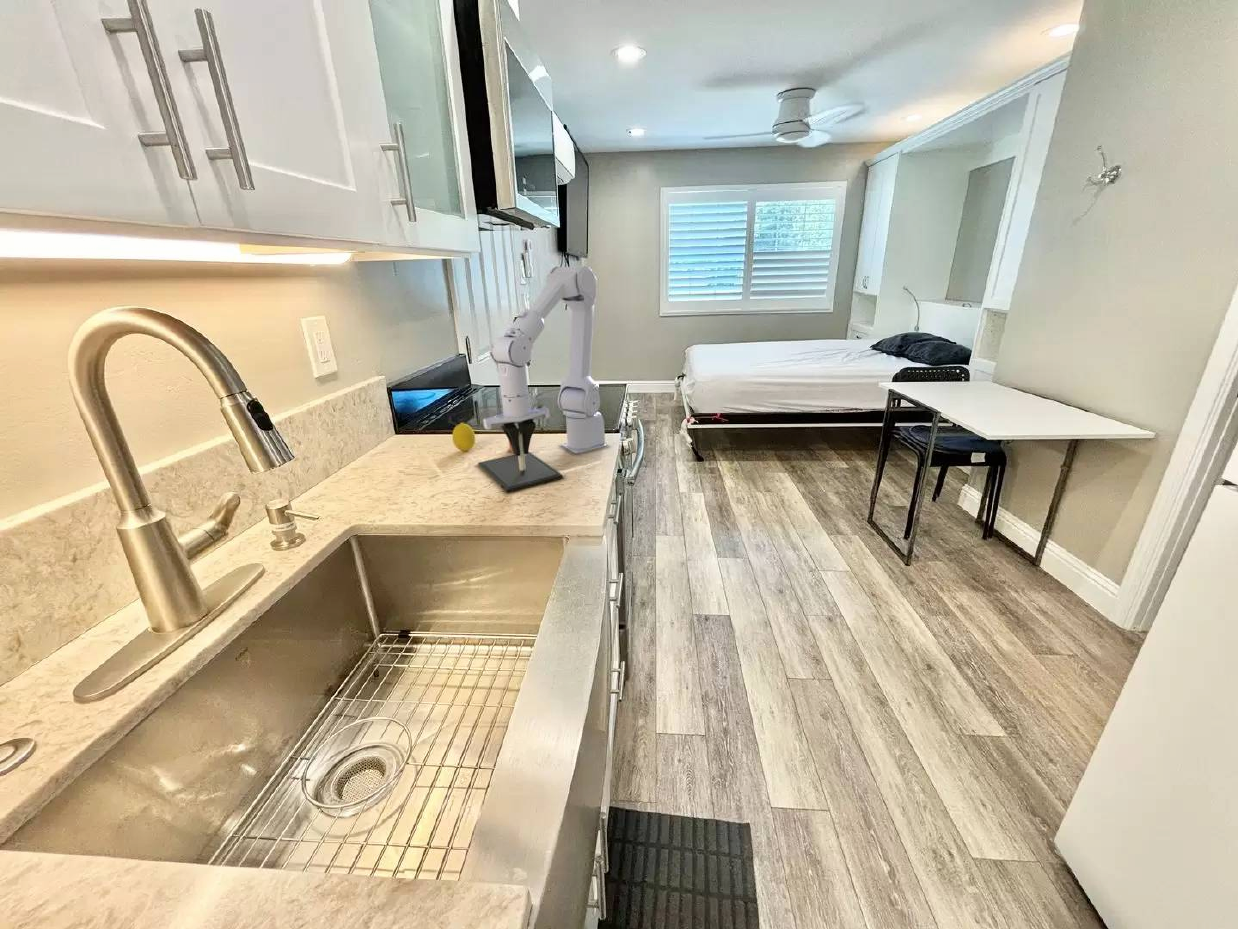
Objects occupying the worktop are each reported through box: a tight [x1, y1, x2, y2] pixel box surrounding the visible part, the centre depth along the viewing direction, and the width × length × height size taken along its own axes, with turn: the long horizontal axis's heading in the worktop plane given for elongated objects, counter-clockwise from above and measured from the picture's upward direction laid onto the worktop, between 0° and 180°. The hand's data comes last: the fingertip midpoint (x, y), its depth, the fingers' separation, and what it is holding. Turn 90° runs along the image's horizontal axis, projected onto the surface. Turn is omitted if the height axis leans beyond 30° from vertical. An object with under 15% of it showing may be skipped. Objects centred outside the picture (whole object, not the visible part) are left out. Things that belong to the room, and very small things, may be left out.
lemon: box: [452, 422, 476, 452], centre depth 126 cm, size 6×6×8 cm
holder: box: [507, 438, 513, 452], centre depth 127 cm, size 3×3×4 cm
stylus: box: [518, 433, 526, 472], centre depth 110 cm, size 1×1×9 cm
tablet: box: [477, 451, 563, 494], centre depth 114 cm, size 13×19×1 cm
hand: (521, 453), depth 110 cm, fingers closed on stylus, 1 cm apart
